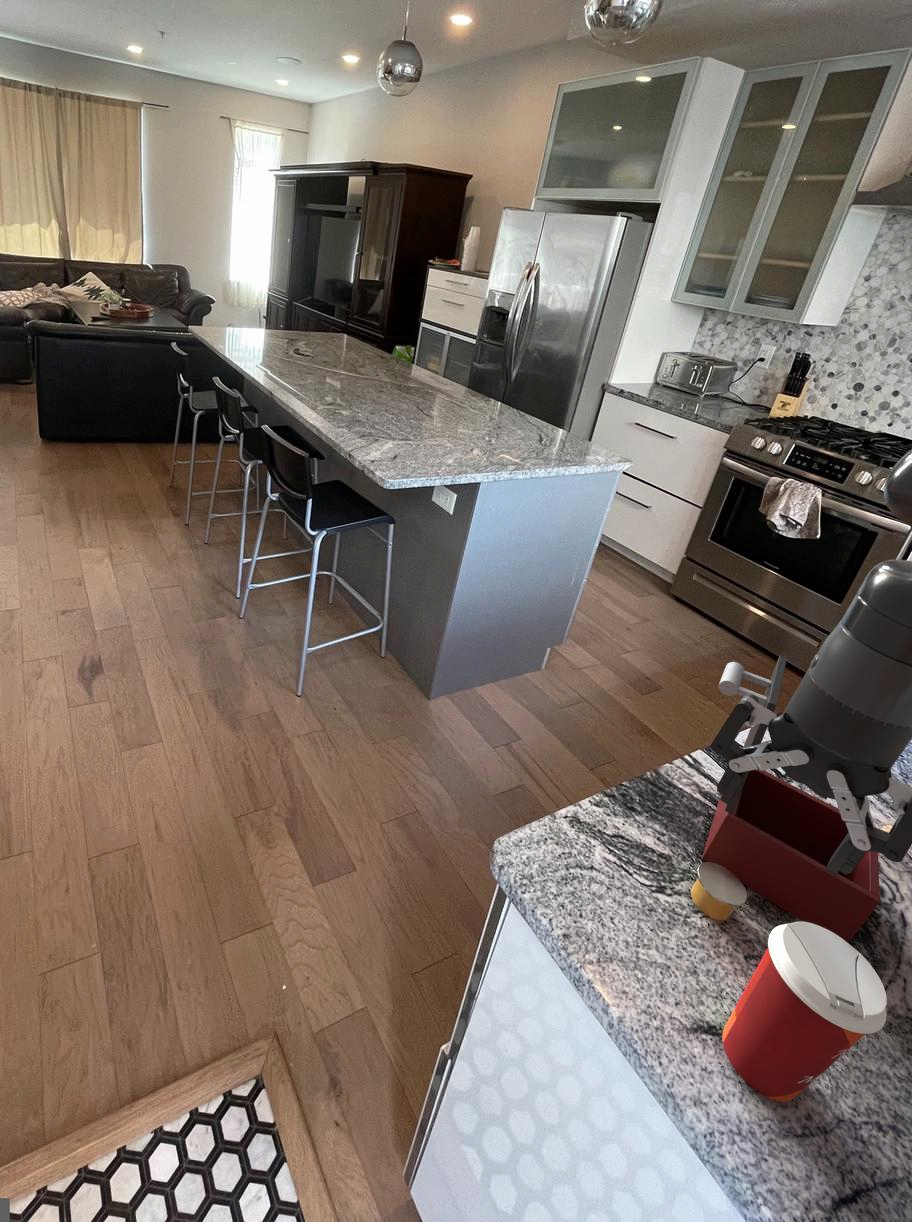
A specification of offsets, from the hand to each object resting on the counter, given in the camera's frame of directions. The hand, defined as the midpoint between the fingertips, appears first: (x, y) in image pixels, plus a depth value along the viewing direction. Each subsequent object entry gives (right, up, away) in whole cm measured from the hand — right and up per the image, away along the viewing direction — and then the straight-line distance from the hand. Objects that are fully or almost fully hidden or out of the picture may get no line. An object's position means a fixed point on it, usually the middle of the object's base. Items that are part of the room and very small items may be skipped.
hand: (776, 831), depth 56 cm
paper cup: (-4, -19, -2) cm, 19 cm away
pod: (0, -13, +10) cm, 17 cm away
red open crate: (+11, -12, +16) cm, 23 cm away
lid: (+8, +4, +13) cm, 16 cm away
